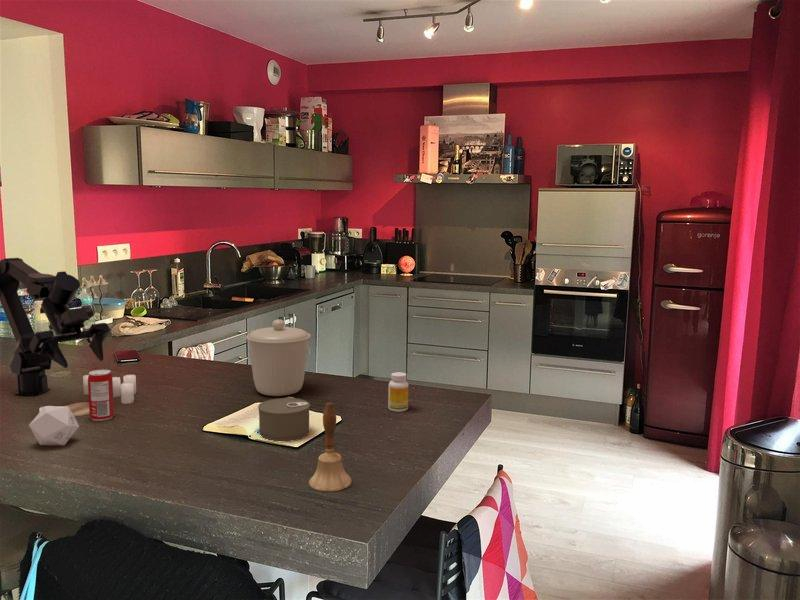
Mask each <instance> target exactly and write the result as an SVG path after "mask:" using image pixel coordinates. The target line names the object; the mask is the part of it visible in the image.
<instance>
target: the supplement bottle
mask: <svg viewBox="0 0 800 600" xmlns="http://www.w3.org/2000/svg"><path fill="white" fill-rule="evenodd" d="M390 376H391V377H390V381H389V383H388V388H387V389H388V393H387V395H388V396H387V397H388V401H387V408H388V410H389V411H392V412H398V413H399V412H405V411H408V409H409V388H410V387H409V386H410V385H409V382H408V381H407V373H405V372H400V371H398V372H397V371H396V372H392V373H391V374H390Z"/></svg>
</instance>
